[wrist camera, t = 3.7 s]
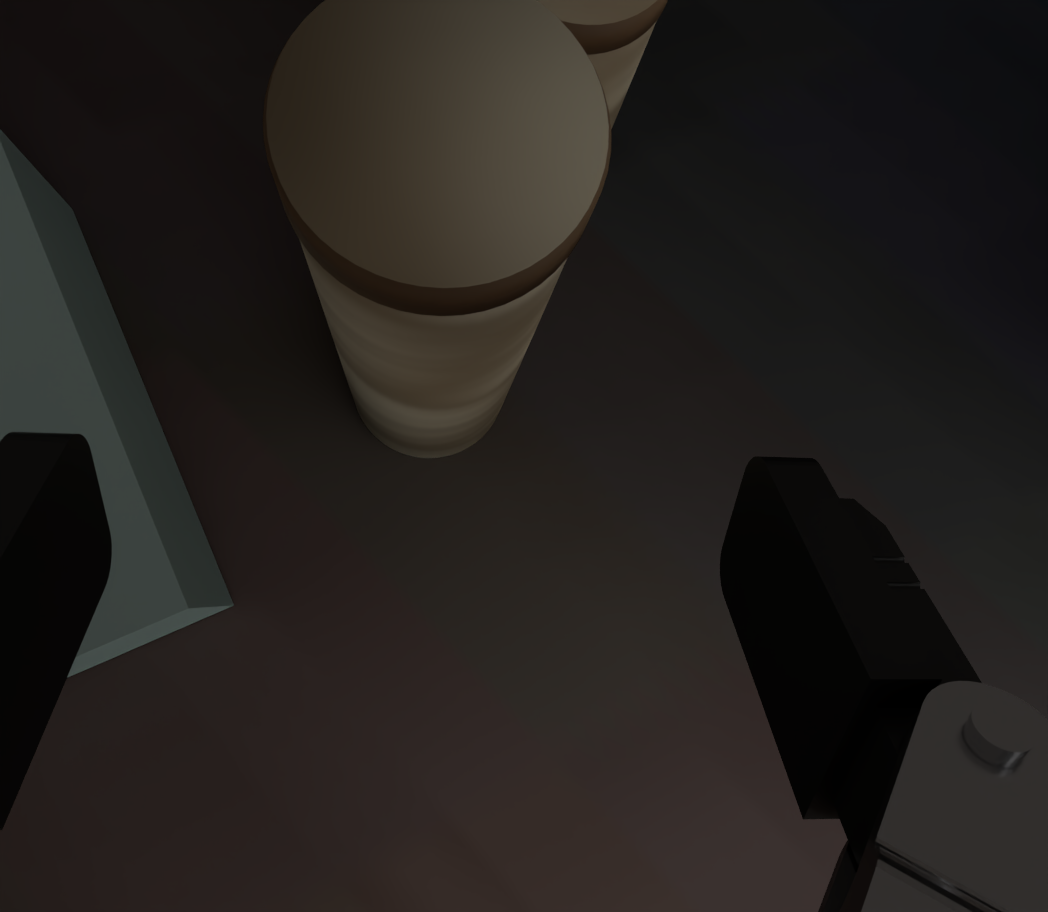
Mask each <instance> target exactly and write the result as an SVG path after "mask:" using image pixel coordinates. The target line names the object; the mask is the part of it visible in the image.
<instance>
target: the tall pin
mask: <svg viewBox="0 0 1048 912" xmlns="http://www.w3.org/2000/svg"><path fill="white" fill-rule="evenodd" d="M263 133H264V144H265V149H266V154H267V159H268V164H269V167H270V170H271V172H272V175H273V178H274V181H275V184H276V187H277V190H278V192H279V195H280V198H281V201H282V204H283V207H284V209H285V212H286V215H287V218H288V219H289V221H290V223H291V225H292V227H293V229H294V231H295V233H296V235H297V237H298V238H299V240H300V243H301V246H302V249H303V252H304V255H305V258H306V261H307V264H308V267H309V270H310V273H311V275H312V278H313V281H314V284H315V287H316V290H317V293H318V296H319V299H320V302H321V305H322V308H323V311H324V314H325V317H326V320H327V323H328V326H329V329H330V331H331V334H332V337H333V340H334V343H335V346H336V349H337V352H338V355H339V358H340V361H341V364H342V367H343V370H344V373H345V376H346V379H347V382H348V385H349V387H350V390H351V393H352V396H353V399H354V402H355V405H356V408H357V411H358V413H359V415H360V417H361V419H362V421H363V422H364V424H365V425H366V427H367V428H368V430H369V431H370V432H371V433H372V434H373V435H374V436H375V437H376V438H377V439H378V440H380V441H381V442H382V443H383V444H385V445H386V446H388V447H389V448H391V449H393V450H395V451H397V452H399V453H402V454H405V455H408V456H413V457H418V458H441V457H446V456H450V455H453V454H456V453H459V452H461V451H463V450H465V449H467V448H469V447H470V446H472V445H473V444H475V443H476V442H477V441H478V440H480V439H481V438H482V437H483V436H484V435H485V434H486V433H487V431H488V430H489V429H490V428H491V426H492V425H493V423H494V422H495V420H496V418H497V416H498V414H499V412H500V409H501V407H502V405H503V403H504V400H505V398H506V396H507V393H508V391H509V389H510V387H511V384H512V382H513V380H514V378H515V375H516V373H517V371H518V369H519V366H520V364H521V362H522V360H523V357H524V355H525V353H526V350H527V348H528V346H529V344H530V341H531V339H532V337H533V335H534V332H535V330H536V328H537V326H538V323H539V321H540V319H541V316H542V314H543V312H544V310H545V307H546V305H547V303H548V301H549V298H550V296H551V294H552V292H553V289H554V287H555V285H556V283H557V280H558V278H559V276H560V273H561V271H562V269H563V267H564V264H565V262H566V260H567V258H568V257H569V255H570V254H571V252H572V251H573V249H574V248H575V246H576V245H577V243H578V241H579V240H580V238H581V236H582V234H583V231H584V229H585V227H586V225H587V223H588V221H589V219H590V216H591V214H592V212H593V210H594V208H595V205H596V203H597V201H598V199H599V197H600V194H601V192H602V189H603V186H604V182H605V179H606V176H607V173H608V167H609V161H610V154H611V124H610V115H609V109H608V105H607V101H606V97H605V93H604V90H603V87H602V85H601V82H600V80H599V77H598V75H597V72H596V70H595V68H594V66H593V65H592V63H591V61H590V59H589V58H588V56H587V54H586V52H585V51H584V49H583V48H582V46H581V45H580V43H579V42H578V41H577V39H576V38H575V37H574V35H573V34H572V33H571V31H570V30H569V29H568V28H567V27H566V26H565V25H564V24H563V23H562V22H561V21H560V20H559V19H558V18H557V16H555V15H554V14H553V13H552V12H551V11H549V10H548V9H547V8H546V7H545V6H543V5H542V4H541V3H540V2H538V1H537V0H325V1H324V2H322V3H321V4H320V5H318V6H317V7H316V8H315V9H314V10H313V11H312V12H311V13H310V14H309V15H308V16H307V17H306V18H305V19H304V20H303V21H302V23H301V24H300V25H299V26H298V28H297V29H296V30H295V31H294V33H293V34H292V35H291V37H290V38H289V39H288V41H287V42H286V44H285V46H284V48H283V49H282V51H281V53H280V55H279V56H278V58H277V61H276V63H275V66H274V68H273V71H272V73H271V76H270V78H269V83H268V87H267V91H266V95H265V101H264V112H263Z"/></svg>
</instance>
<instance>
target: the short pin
mask: <svg viewBox="0 0 1048 912" xmlns="http://www.w3.org/2000/svg"><path fill="white" fill-rule="evenodd" d="M537 1H538V2H540V3H541V4H542V5H543V6H545V7H546V8H547V9H548V10H549V11H551V12H552V13H553V14H554V15H555V16H557V18H558V19H559V20H560V21H561V22H562V23H563V24H564V25H565V26H566V27H567V28H568V29H569V30H570V31H571V33H572V34H573V35H574V37H575V38H576V39H577V41H578V42H579V43H580V45H581V46H582V48H583V49H584V51H585V52H586V54H587V56H588V58H589V59H590V61H591V63H592V65H593V66H594V68H595V70H596V72H597V75H598V77H599V80H600V82H601V85H602V87H603V90H604V93H605V97H606V101H607V105H608V109H609V115H610V124H611V129H612V127H613V124H614V122H615V119H616V117H617V115H618V112H619V110H620V107H621V105H622V103H623V100H624V98H625V95H626V93H627V91H628V88H629V86H630V83H631V81H632V78H633V76H634V74H635V71H636V69H637V66H638V64H639V62H640V59H641V57H642V54H643V52H644V50H645V47H646V45H647V42H648V40H649V38H650V35H651V33H652V30H653V28H654V26H655V23H656V21H657V19H658V18H659V16H660V15H661V13H662V12H663V10H664V8H665V5H666V3H667V1H668V0H537Z"/></svg>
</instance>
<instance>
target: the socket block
mask: <svg viewBox="0 0 1048 912" xmlns="http://www.w3.org/2000/svg"><path fill="white" fill-rule="evenodd" d="M10 432H38V433H70V434H81V435H83V436H84V437H85V438H86V440H87V441H88V444H89V446H90V449H91V453H92V457H93V461H94V466H95V470H96V474H97V478H98V482H99V487H100V491H101V495H102V499H103V504H104V508H105V512H106V516H107V520H108V525H109V529H110V534H111V541H112V558H111V567H110V573H109V578H108V581H107V584H106V587H105V589H104V592H103V594H102V596H101V599H100V601H99V603H98V606H97V608H96V611H95V613H94V615H93V618H92V620H91V622H90V625H89V627H88V629H87V632H86V634H85V636H84V639H83V641H82V643H81V646H80V648H79V650H78V653H77V655H76V658H75V660H74V662H73V665H72V667H71V669H70V672H69V674H68V676H67V678H68V677H70V676H72V675H75V674H77V673H79V672H82V671H84V670H86V669H88V668H91V667H93V666H95V665H98V664H100V663H102V662H105V661H107V660H109V659H112V658H114V657H116V656H118V655H121V654H123V653H125V652H128V651H130V650H132V649H135V648H137V647H139V646H142V645H144V644H146V643H148V642H151V641H153V640H155V639H158V638H160V637H162V636H165V635H167V634H169V633H171V632H174V631H176V630H178V629H181V628H183V627H185V626H188V625H190V624H192V623H195V622H197V621H199V620H201V619H204V618H206V617H208V616H211V615H213V614H215V613H218V612H220V611H222V610H225V609H227V608H229V607H231V606H234V604H233V602H232V599H231V597H230V594H229V592H228V590H227V587H226V585H225V582H224V580H223V577H222V575H221V572H220V570H219V567H218V565H217V563H216V560H215V558H214V555H213V553H212V550H211V548H210V545H209V543H208V540H207V538H206V536H205V533H204V531H203V528H202V526H201V523H200V521H199V518H198V516H197V514H196V511H195V509H194V506H193V504H192V501H191V499H190V496H189V494H188V491H187V489H186V487H185V484H184V482H183V479H182V477H181V474H180V472H179V469H178V467H177V464H176V462H175V460H174V457H173V455H172V452H171V450H170V447H169V445H168V442H167V440H166V437H165V435H164V433H163V430H162V428H161V425H160V423H159V420H158V418H157V415H156V413H155V410H154V408H153V406H152V403H151V401H150V398H149V396H148V393H147V391H146V388H145V386H144V384H143V381H142V379H141V376H140V374H139V371H138V369H137V366H136V364H135V361H134V359H133V357H132V354H131V352H130V349H129V347H128V344H127V342H126V339H125V337H124V334H123V332H122V330H121V327H120V325H119V322H118V320H117V317H116V315H115V312H114V310H113V307H112V305H111V303H110V300H109V298H108V295H107V293H106V290H105V288H104V285H103V283H102V280H101V278H100V276H99V273H98V271H97V268H96V266H95V263H94V261H93V258H92V256H91V254H90V251H89V249H88V246H87V244H86V241H85V239H84V236H83V234H82V231H81V229H80V227H79V224H78V222H77V219H76V217H75V214H74V212H73V209H72V208H71V207H70V206H69V205H68V204H67V203H66V202H65V201H64V199H63V198H62V197H61V196H60V195H59V194H58V193H57V192H56V191H55V189H54V188H53V187H52V186H51V185H50V184H49V183H48V182H47V181H46V179H45V178H44V177H43V176H42V175H41V174H40V173H39V172H38V171H37V169H36V168H35V167H34V166H33V165H32V164H31V163H30V162H29V161H28V160H27V158H26V157H25V156H24V155H23V154H22V153H21V152H20V151H19V150H18V148H17V147H16V146H15V145H14V144H13V143H12V142H11V141H10V140H9V138H8V137H7V136H6V135H5V134H4V133H3V132H2V131H1V130H0V441H1V440H2V439H3V437H4V436H5V435H6V434H8V433H10Z"/></svg>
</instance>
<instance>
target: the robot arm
mask: <svg viewBox="0 0 1048 912" xmlns="http://www.w3.org/2000/svg"><path fill="white" fill-rule="evenodd" d="M111 558H112V541H111V534H110V529H109V525H108V520H107V516H106V512H105V508H104V504H103V499H102V495H101V491H100V487H99V482H98V478H97V474H96V470H95V466H94V461H93V457H92V453H91V449H90V446H89V444H88V441H87V440H86V438H85V437H84V436H83V435H81V434H70V433H38V432H10V433H8V434H6V435H5V436H4V437H3V439H2V440H1V441H0V830H2V829H3V827H4V824H5V822H6V820H7V817H8V815H9V813H10V810H11V808H12V806H13V803H14V801H15V799H16V796H17V794H18V791H19V789H20V787H21V784H22V782H23V780H24V777H25V775H26V773H27V770H28V768H29V766H30V763H31V761H32V759H33V756H34V754H35V752H36V749H37V747H38V744H39V742H40V740H41V737H42V735H43V733H44V730H45V728H46V726H47V723H48V721H49V719H50V716H51V714H52V712H53V709H54V707H55V705H56V702H57V700H58V697H59V695H60V693H61V690H62V688H63V686H64V683H65V681H66V679H67V676H68V674H69V672H70V669H71V667H72V665H73V662H74V660H75V658H76V655H77V653H78V650H79V648H80V646H81V643H82V641H83V639H84V636H85V634H86V632H87V629H88V627H89V625H90V622H91V620H92V618H93V615H94V613H95V611H96V608H97V606H98V603H99V601H100V599H101V596H102V594H103V592H104V589H105V587H106V584H107V581H108V578H109V573H110V567H111ZM720 578H721V586H722V591H723V595H724V598H725V601H726V604H727V606H728V609H729V612H730V615H731V618H732V621H733V623H734V626H735V629H736V632H737V635H738V637H739V640H740V643H741V646H742V649H743V651H744V654H745V657H746V660H747V663H748V666H749V668H750V671H751V674H752V677H753V680H754V682H755V685H756V688H757V691H758V694H759V696H760V699H761V702H762V705H763V708H764V711H765V713H766V716H767V719H768V722H769V725H770V727H771V730H772V733H773V736H774V739H775V741H776V744H777V747H778V750H779V753H780V755H781V758H782V761H783V764H784V767H785V770H786V772H787V775H788V778H789V781H790V784H791V786H792V789H793V792H794V795H795V798H796V800H797V803H798V806H799V809H800V812H801V815H802V817H803V819H840V821H841V823H842V826H843V828H844V831H845V833H846V836H847V839H848V840H847V842H846V844H845V846H844V847H843V849H842V851H841V853H840V855H839V858H838V861H837V863H836V866H835V869H834V871H833V874H832V877H831V879H830V882H829V884H828V887H827V890H826V892H825V895H824V898H823V900H822V903H821V906H820V908H819V911H818V912H1048V720H1047V719H1046V718H1045V717H1044V716H1043V715H1042V714H1041V713H1040V712H1038V711H1037V710H1036V709H1035V708H1033V707H1032V706H1031V705H1029V704H1028V703H1026V702H1025V701H1023V700H1021V699H1020V698H1018V697H1016V696H1014V695H1012V694H1010V693H1009V692H1006V691H1004V690H1002V689H999V688H997V687H994V686H990V685H987V684H983V683H982V682H981V681H980V679H979V678H978V676H977V674H976V673H975V671H974V669H973V668H972V666H971V664H970V663H969V661H968V660H967V658H966V656H965V655H964V653H963V651H962V650H961V648H960V647H959V645H958V643H957V642H956V640H955V638H954V637H953V635H952V633H951V632H950V630H949V629H948V627H947V625H946V624H945V622H944V620H943V619H942V617H941V615H940V614H939V612H938V611H937V609H936V607H935V606H934V604H933V602H932V601H931V599H930V598H929V596H928V594H927V593H926V591H925V589H920V581H919V580H918V578H917V576H916V575H915V573H914V571H913V570H912V568H911V567H910V565H909V563H905V562H904V555H903V553H902V552H901V550H900V549H899V547H898V545H897V544H896V542H895V540H894V539H893V537H892V536H891V534H890V532H889V531H888V529H887V527H886V526H885V525H884V524H883V523H882V522H880V521H879V520H878V519H877V518H876V517H874V516H873V515H872V514H871V513H870V512H869V511H867V510H866V509H865V508H864V507H863V506H862V505H860V504H859V503H858V502H857V501H856V500H854V499H844V498H839V497H838V495H837V494H836V492H835V490H834V488H833V487H832V485H831V483H830V481H829V480H828V478H827V476H826V474H825V473H824V471H823V469H822V467H821V466H820V464H819V463H818V462H817V461H816V460H815V459H813V458H787V457H753V458H752V459H751V460H750V461H749V463H748V465H747V467H746V469H745V472H744V475H743V479H742V482H741V485H740V489H739V492H738V496H737V499H736V502H735V506H734V509H733V512H732V516H731V519H730V522H729V526H728V529H727V533H726V536H725V539H724V543H723V546H722V551H721V559H720Z"/></svg>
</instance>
